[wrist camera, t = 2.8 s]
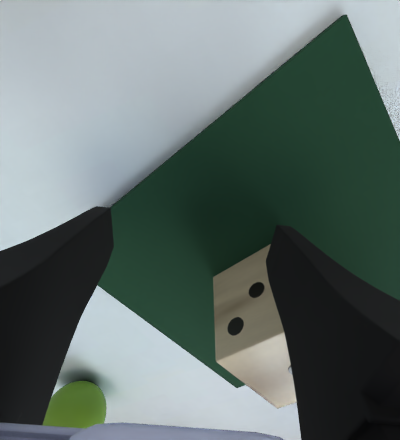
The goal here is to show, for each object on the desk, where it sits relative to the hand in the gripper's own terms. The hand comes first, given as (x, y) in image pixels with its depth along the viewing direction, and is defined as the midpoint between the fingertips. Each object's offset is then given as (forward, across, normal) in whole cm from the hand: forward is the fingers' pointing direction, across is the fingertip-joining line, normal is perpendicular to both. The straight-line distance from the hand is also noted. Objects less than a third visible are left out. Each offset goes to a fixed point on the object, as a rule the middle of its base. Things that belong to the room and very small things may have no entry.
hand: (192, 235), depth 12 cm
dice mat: (+4, -6, +6) cm, 9 cm away
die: (+4, -6, +6) cm, 9 cm away
